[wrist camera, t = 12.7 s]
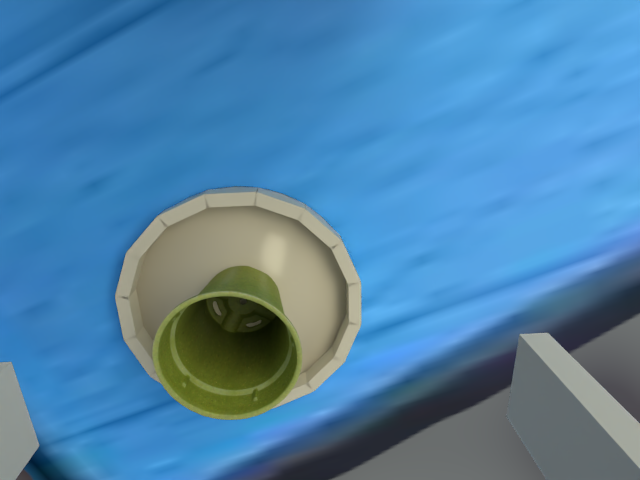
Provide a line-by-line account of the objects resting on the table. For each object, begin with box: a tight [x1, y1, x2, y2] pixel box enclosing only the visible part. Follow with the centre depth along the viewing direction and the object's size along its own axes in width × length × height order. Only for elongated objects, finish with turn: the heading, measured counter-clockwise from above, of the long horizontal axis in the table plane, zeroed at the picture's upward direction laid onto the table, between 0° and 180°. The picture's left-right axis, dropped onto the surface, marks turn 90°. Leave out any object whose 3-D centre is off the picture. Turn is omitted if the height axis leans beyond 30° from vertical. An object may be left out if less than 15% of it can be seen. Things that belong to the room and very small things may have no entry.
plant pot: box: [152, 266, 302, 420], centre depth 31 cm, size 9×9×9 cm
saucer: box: [115, 186, 361, 408], centre depth 35 cm, size 19×19×2 cm
